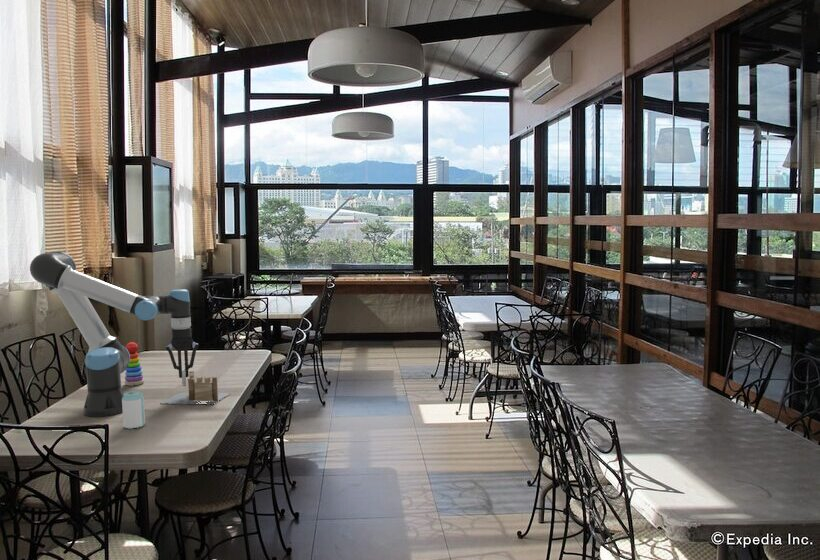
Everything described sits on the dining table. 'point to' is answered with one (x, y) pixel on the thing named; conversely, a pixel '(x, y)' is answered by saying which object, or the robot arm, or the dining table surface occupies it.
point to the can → (133, 410)
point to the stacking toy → (133, 367)
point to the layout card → (184, 399)
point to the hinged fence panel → (191, 374)
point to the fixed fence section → (203, 389)
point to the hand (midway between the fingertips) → (184, 385)
